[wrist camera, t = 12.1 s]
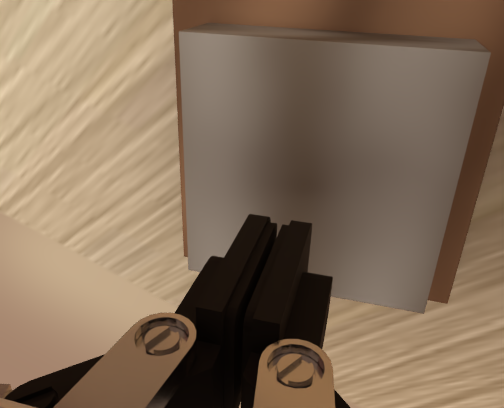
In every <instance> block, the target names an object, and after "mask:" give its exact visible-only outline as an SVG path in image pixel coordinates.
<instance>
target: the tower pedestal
mask: <svg viewBox="0 0 504 408" xmlns="http://www.w3.org/2000/svg"><path fill="white" fill-rule="evenodd" d="M173 22H174V44H175V66H176V88H177V110H178V132H179V154H180V176H181V198H182V219H183V241H184V256H185V257H188V269H189V270H192V271H197V272H201V270H202V269H203V267H204V265H205V264H206V262H207V261H208V259H209V258H210V257H211V256H218V257H225V255H226V253H227V251H228V250H229V248H230V246H231V244H232V243H233V241H234V239H235V237H236V236H237V234H238V232H239V231H240V229H241V227H242V225H243V224H244V222H245V220H246V218H247V217H248V215H249V214H254V215H261V216H267V217H270V219H271V223H277V236H278V233H279V231H280V229H281V226H282V224H284V225H289V224H290V222H291V220H294V221H300V222H307V223H312V234H311V243H310V253H309V263H308V272H309V273H315V274H320V275H326V276H332V277H333V282H332V290H331V296H332V297H337V298H342V299H348V300H353V301H359V302H364V303H369V304H375V305H380V306H385V307H391V308H396V309H402V310H407V311H412V312H418V313H423V314H424V312H425V308H426V304H427V300H430V301H436V302H441V303H448V300H449V296H450V293H451V289H452V286H453V282H454V279H455V275H456V271H457V268H458V264H459V261H460V257H461V254H462V250H463V247H464V243H465V240H466V236H467V233H468V229H469V226H470V222H471V218H472V215H473V211H474V208H475V204H476V201H477V197H478V194H479V190H480V187H481V183H482V180H483V176H484V173H485V169H486V165H487V162H488V158H489V155H490V151H491V148H492V144H493V141H494V137H495V134H496V130H497V127H498V123H499V120H500V116H501V112H502V109H503V105H504V0H173Z"/></svg>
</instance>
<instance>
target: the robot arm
mask: <svg viewBox="0 0 504 408" xmlns="http://www.w3.org/2000/svg"><path fill="white" fill-rule="evenodd" d="M311 234H312V223H307V222H300V221H294V220H291V222H290V224H289V225H284V224H282V226H281V229H280V231H279V233H278V236H277V223H271V219H270V217H267V216H261V215H254V214H249V215H248V217H247V218H246V220H245V222H244V224H243V225H242V227H241V229H240V231H239V232H238V234H237V236H236V237H235V239H234V241H233V243H232V244H231V246H230V248H229V250H228V251H227V253H226V255H225V257H218V256H211V257H210V258H209V259H208V261H207V262H206V264H205V265H204V267H203V269H202V270H201V272H200V273H199V275H198V277H197V278H196V280H195V281H194V283H193V285H192V286H191V288H190V289H189V291H188V293H187V294H186V296H185V297H184V299H183V301H182V302H181V304H180V305H179V307H178V309H177V310H176V312H175V313H158V314H153V315H149V316H147V317H145V318H143V319H141V320H139V321H138V322H137V323H136V324H134V325H133V326H132V327H131V328H130V329H129V330H128V331H127V332H126V333H125V334H124V335H123V336H122V337H121V338H120V339H119V341H117V343H116V344H115V345H114V346H113V347H112V348H111V349H110V350H109V351H108V352H107V353H106V354H104V355H102V356H99V357H96V358H93V359H90V360H88V361H85V362H82V363H79V364H76V365H73V366H71V367H68V368H65V369H62V370H59V371H56V372H54V373H51V374H48V375H45V376H42V377H39V378H37V379H34V380H31V381H29V382H27V383H25V384H23V385H20V386H19V387H17V388H16V389H14V390H12V389H11V386H10V384H0V408H239V405H240V402H241V408H350V407H349V405H348V404H347V403H346V402H345V401H344V400H343V399H342V398H341V396H340V395H339V394H338V393H337V392H336V391H335V390H334V379H333V367H332V363H331V360H330V359H329V357H328V356H327V354H326V353H325V352H324V351H323V350H322V347H323V342H324V336H325V330H326V324H327V318H328V311H329V304H330V297H331V290H332V282H333V277H332V276H326V275H320V274H315V273H309V272H308V263H309V253H310V243H311Z"/></svg>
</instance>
